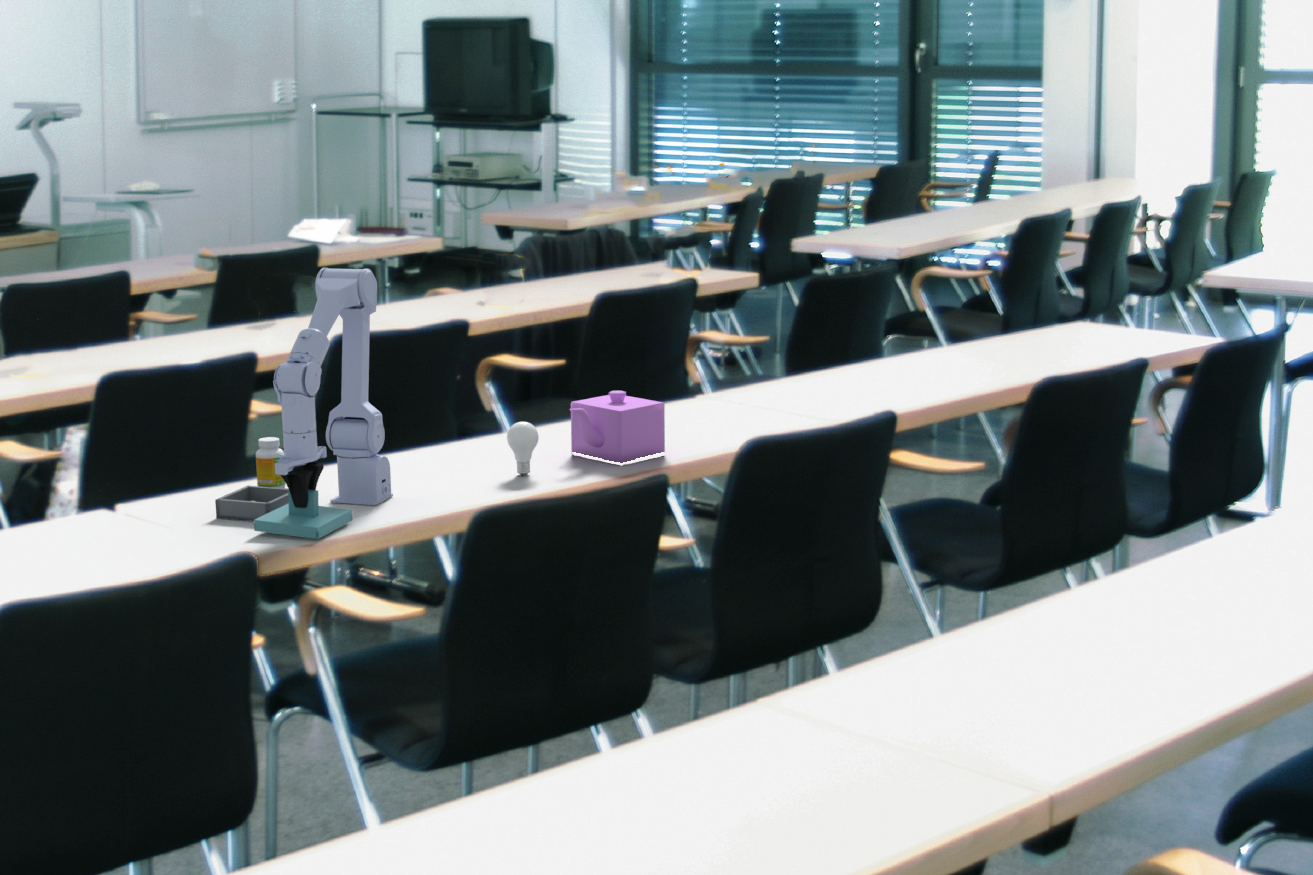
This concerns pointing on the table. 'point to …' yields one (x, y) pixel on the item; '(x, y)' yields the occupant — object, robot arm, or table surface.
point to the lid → (303, 519)
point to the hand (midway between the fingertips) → (303, 505)
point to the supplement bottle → (268, 463)
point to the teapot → (617, 427)
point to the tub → (250, 502)
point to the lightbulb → (522, 444)
